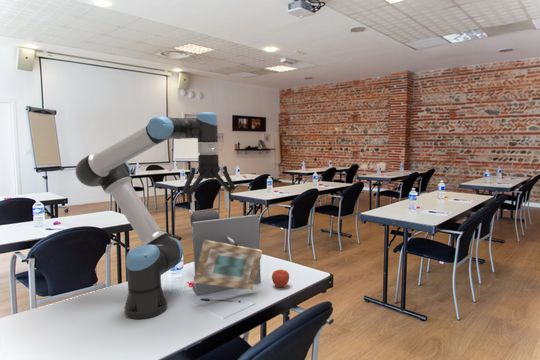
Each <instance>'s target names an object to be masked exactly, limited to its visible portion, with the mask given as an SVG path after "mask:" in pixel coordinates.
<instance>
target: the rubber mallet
mask: <svg viewBox="0 0 540 360" xmlns="http://www.w3.org/2000/svg"><path fill="white" fill-rule="evenodd" d="M214 219H220V215H219V211H217V210H207V211H206V210H204V211H198V212H192V213H191V214H190V219H189V220H190V225H191V227H192V222H197V221H205V220H214Z"/></svg>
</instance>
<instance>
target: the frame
mask: <svg viewBox="0 0 540 360" xmlns="http://www.w3.org/2000/svg"><path fill="white" fill-rule="evenodd" d="M237 245H238V243H235V244H234V245H231V244H226V243H220V242H215V241H209V240H204V242H203V246H202V249H201V253H200V257H199V261H198V264H197V268H196V272H195V271H194V275H193V276H194V277H193V282H194V284H195V283H201V284H209V285H216V286H224V287H232V288H233V289H239V290H240V289H241V290H247V291H248V290H249V291H253V289H254V287H255V284H254V282H255V278H256V275H257V271H258V267H259V263H260V264H261V259H262V256H263V255H262V254H263V250H261V249H260V250H259V249H254V248H248V247H242V246H237Z"/></svg>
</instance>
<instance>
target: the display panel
mask: <svg viewBox="0 0 540 360" xmlns="http://www.w3.org/2000/svg"><path fill="white" fill-rule="evenodd" d="M259 217H260V216H259V215H258V214H249V215H242V216H232V217H231V216H230V217H225V218H219V219H214V220H205V221H197V222H192V226H191V227H192V229H191V230H192V244H193V263H194V264H193V265H194V266H193V267H194V273H195V272H196V268H197V264H198V261H199V257H200V253H201V249H202V246H203V242H204V240H209V241H215V242H220V243H226V244H231V245H234V244H235V243H238V245H237V246H242V247H248V248H254V249H259V250H261V248H260V223H259V222H260V220H259V219H260V218H259ZM261 275H262V274H261V262H260V263H259V267H258V271H257V275H256V278H255V282H254V285H258V284H261V282H262V281H261V280H262V279H261V278H262V277H261ZM192 289H193V291H194V293H195V294H196V296H201V295H207V294H212V293H217V292H222V291H227V290H233V289H234V288H232V287H224V286H216V285H209V284H201V283H195V282H194V283H193V284H192Z"/></svg>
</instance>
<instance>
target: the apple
mask: <svg viewBox="0 0 540 360" xmlns="http://www.w3.org/2000/svg"><path fill="white" fill-rule="evenodd" d="M271 280H272V283H273V285H275V286H276V287H277V288H285V287H286V286H287V285H288V284H289V282H290V281H289V280H290V274H289V272H288V271H287V269H286V270H285V269H277V270H274V271H273V272H272V274H271Z"/></svg>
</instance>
